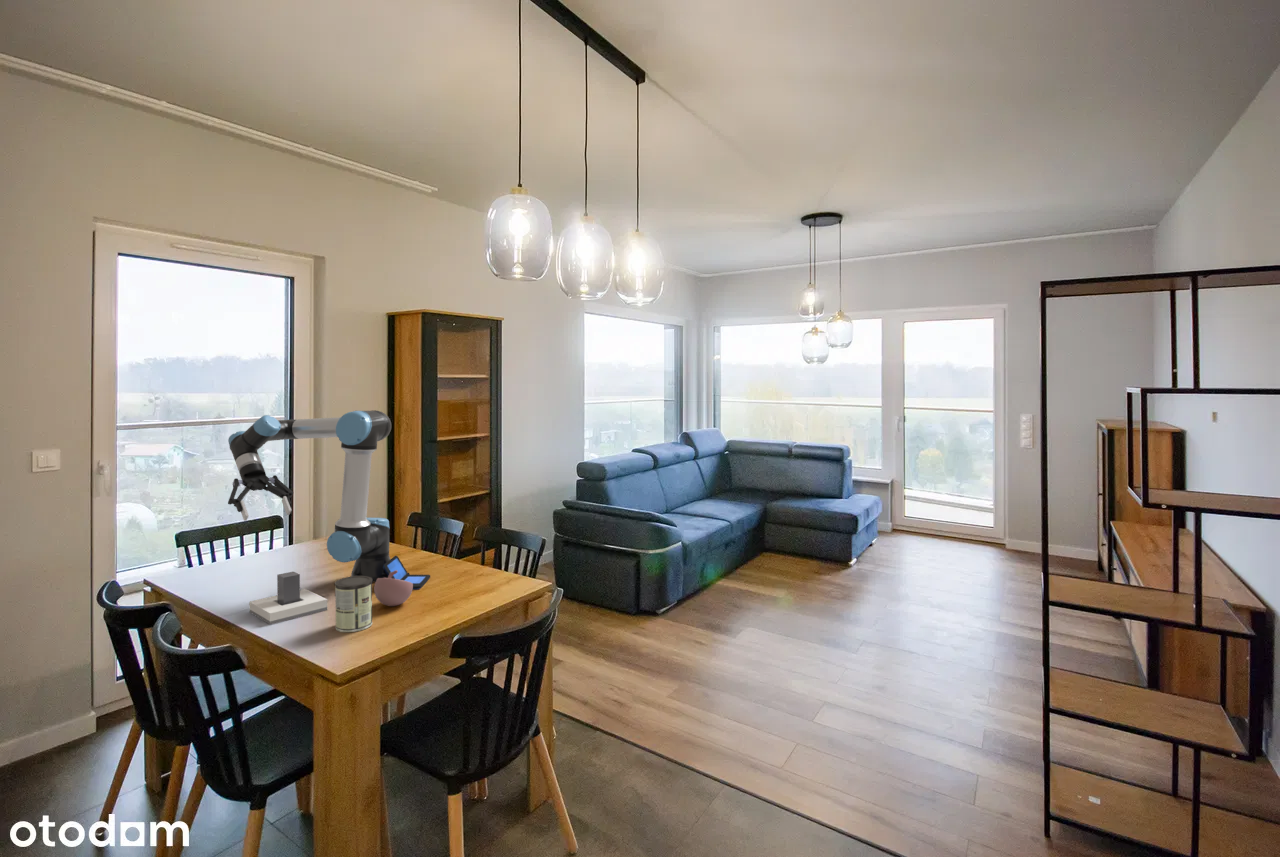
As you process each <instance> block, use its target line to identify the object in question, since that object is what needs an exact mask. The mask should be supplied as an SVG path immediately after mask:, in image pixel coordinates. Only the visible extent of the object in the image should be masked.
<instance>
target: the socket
mask: <svg viewBox="0 0 1280 857" xmlns="http://www.w3.org/2000/svg"><path fill="white" fill-rule="evenodd" d="M325 611H328V598H325V597H323V596H321V595H319V594H317V593H314V592H313V591H311V590H309V589H307V588H303V589H300V601H299V602H295V603H291V604H287V605H280V604H278V595H274V596H269V597H265V598H264V597H263V598H259V599H256V600H251V601H249V613H250V614H252V615H253V616H255V617H256V618H258V619H260V620H262V621H263V622H265V623H266V624H269V625H271V626H272V625H275V624H278V623H282V622H286V621H290V620H293V619H298V618H300V617H301V618H302V617H305V616H309V615H313V614H316V613H321V612H325Z"/></svg>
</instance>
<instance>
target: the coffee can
mask: <svg viewBox="0 0 1280 857" xmlns="http://www.w3.org/2000/svg"><path fill="white" fill-rule="evenodd" d="M334 589H335V593H334V594H335V595H334V596H335V597H334V598H335V599H334V601H335V604H334V605H335V630H336V631H337V632H339V633H355V632H360V631H363V630H367V629H369V628H370V627H371V626H372V625H373V606H372V605H373V582H372V578H371V577H368V576H352V577H351V576H346V577H343V578H340V579H337V580H335V582H334Z"/></svg>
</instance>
